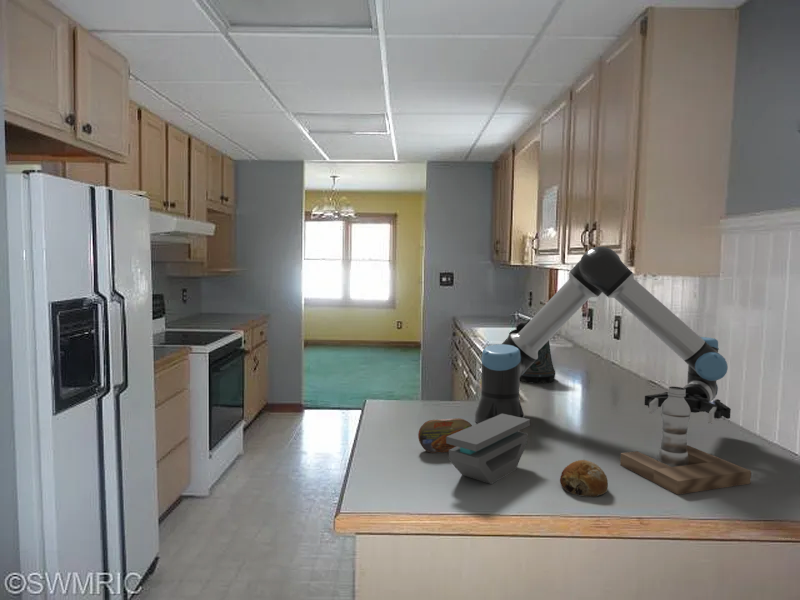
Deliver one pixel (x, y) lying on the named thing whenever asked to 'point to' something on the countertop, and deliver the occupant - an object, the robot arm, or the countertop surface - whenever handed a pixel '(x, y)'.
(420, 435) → the tin
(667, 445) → the plastic bottle
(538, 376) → the beer stein
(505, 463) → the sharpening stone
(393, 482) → the countertop surface
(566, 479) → the bread roll
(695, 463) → the notched board
